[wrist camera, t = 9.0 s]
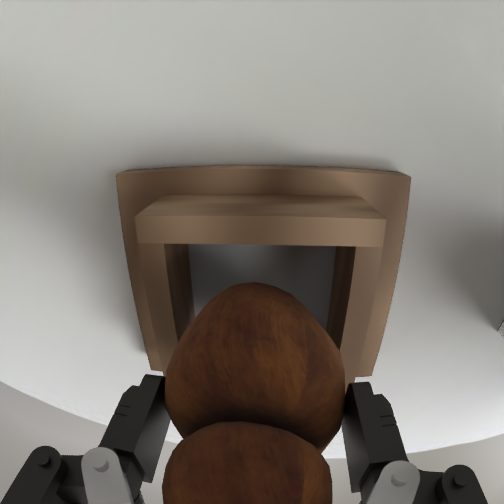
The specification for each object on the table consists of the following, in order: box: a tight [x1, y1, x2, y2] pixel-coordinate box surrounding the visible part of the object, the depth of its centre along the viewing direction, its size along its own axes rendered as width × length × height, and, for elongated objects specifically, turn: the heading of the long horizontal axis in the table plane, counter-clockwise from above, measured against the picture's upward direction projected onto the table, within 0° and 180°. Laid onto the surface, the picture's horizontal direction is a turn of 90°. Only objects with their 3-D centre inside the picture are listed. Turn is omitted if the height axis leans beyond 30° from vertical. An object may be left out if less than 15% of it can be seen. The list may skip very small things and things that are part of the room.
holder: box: [116, 165, 411, 394], centre depth 17 cm, size 16×14×6 cm
